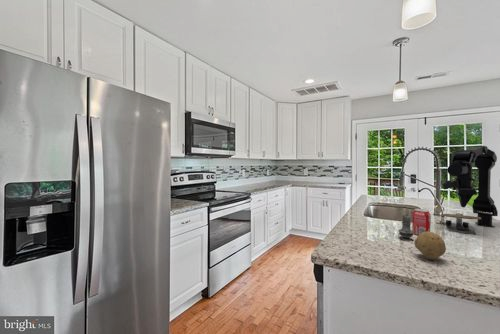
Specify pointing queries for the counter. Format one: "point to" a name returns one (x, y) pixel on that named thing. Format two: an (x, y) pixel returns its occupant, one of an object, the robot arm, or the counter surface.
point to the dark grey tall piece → (406, 229)
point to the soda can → (421, 221)
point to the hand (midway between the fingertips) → (462, 206)
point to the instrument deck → (460, 216)
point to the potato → (430, 245)
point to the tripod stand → (459, 226)
